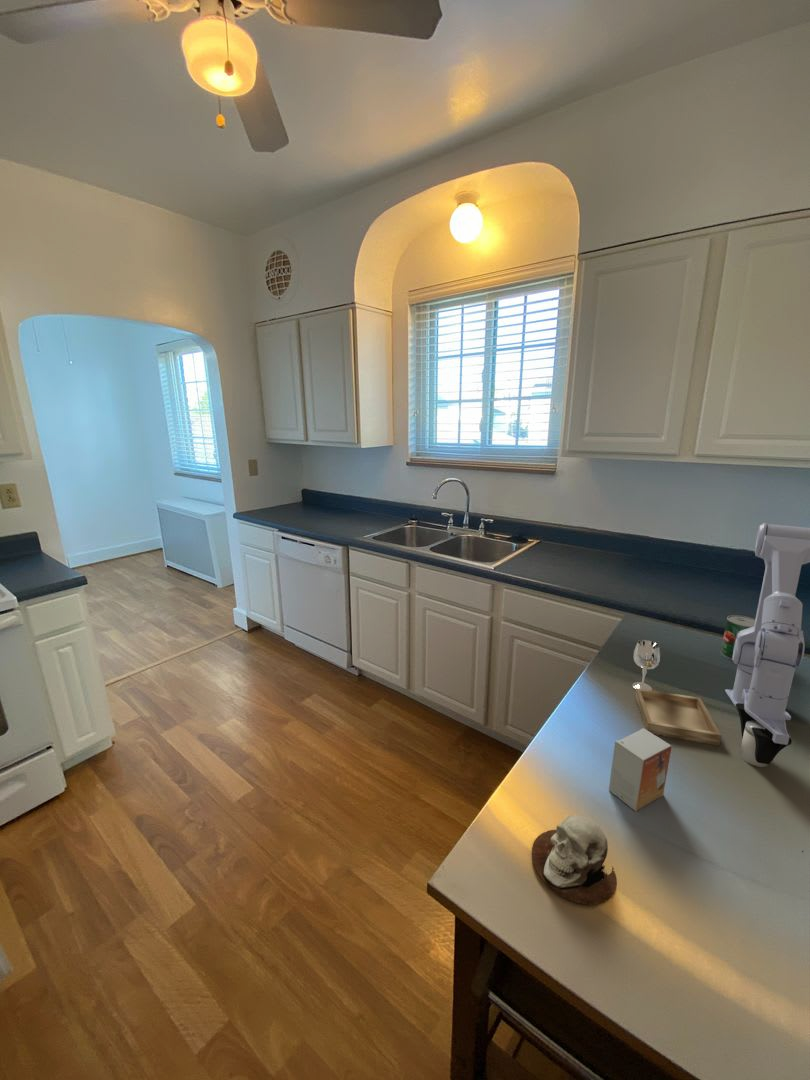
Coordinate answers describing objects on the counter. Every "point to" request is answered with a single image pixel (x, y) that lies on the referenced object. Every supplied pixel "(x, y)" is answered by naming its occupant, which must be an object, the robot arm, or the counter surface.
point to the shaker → (750, 744)
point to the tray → (677, 716)
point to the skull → (575, 861)
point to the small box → (639, 768)
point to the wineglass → (646, 659)
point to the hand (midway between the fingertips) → (755, 751)
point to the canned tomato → (734, 632)
